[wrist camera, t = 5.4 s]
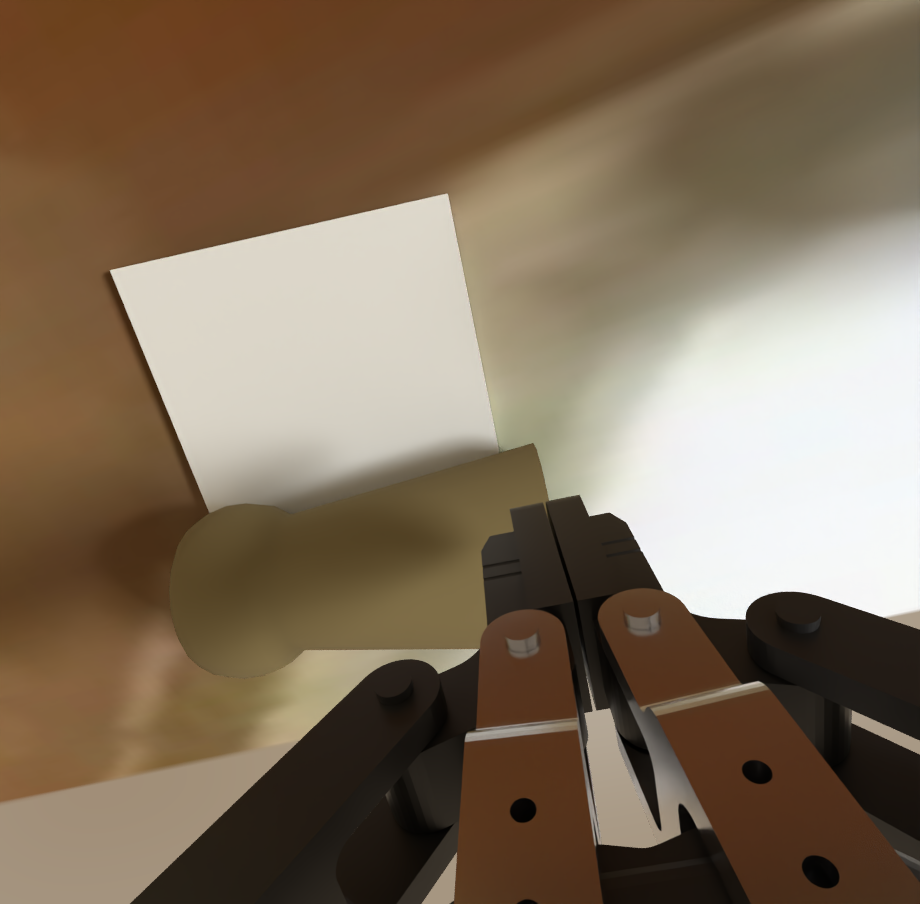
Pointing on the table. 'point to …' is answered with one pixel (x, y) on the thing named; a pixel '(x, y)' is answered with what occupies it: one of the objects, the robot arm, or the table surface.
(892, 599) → the table surface
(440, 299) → the mat
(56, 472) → the table surface
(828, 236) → the table surface
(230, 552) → the cork
